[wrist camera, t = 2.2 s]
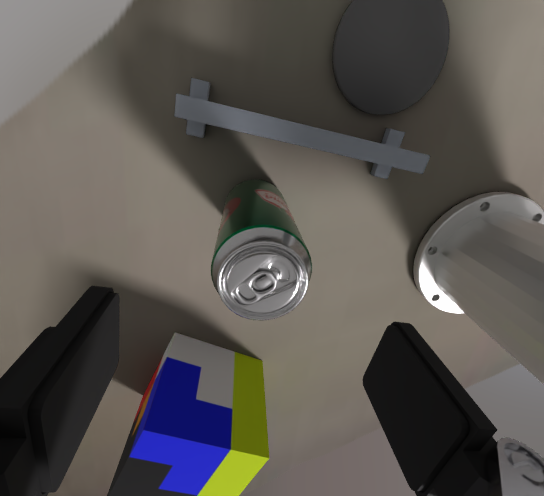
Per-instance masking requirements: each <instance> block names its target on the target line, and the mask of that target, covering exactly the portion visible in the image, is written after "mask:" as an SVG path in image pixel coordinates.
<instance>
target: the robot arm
mask: <svg viewBox="0 0 544 496" xmlns="http://www.w3.org/2000/svg"><path fill="white" fill-rule="evenodd" d="M413 273H414V281H415V284H416V286H417V289H418V290H419V292H420V293H421V295H422V296H423V297H424V298H425V299H426V300H427V301H428V302H429V303H430V304H431V305H433V306H434V307H436V308H437V309H440V310H443V311H445V312H450V313H465V314H466V315H467V316H468V317H469V318H470V319H471V320H473V321H474V322H475V323H476V324H477V325H478V326H479V327H480V328H481V329H483V330H484V331H485V332H486V333H487V334H488V335H489V336H490V337H491V338H492V339H494V340H495V341H496V342H497V343H498V344H499V345H500V346H501V347H502V348H504V349H505V350H506V351H507V352H508V353H509V354H510V355H511V356H512V357H513V358H515V359H516V360H517V361H518V362H519V363H520V364H521V365H522V366H523V367H525V368H526V369H527V370H528V371H529V372H530V373H531V374H532V375H533V376H534V377H536V378H537V379H538V380H539V381H540V382H541V383H542V384H543V385H544V211H543V209H542V208H541V207H540V205H538V204H537V203H536V202H534V201H533V200H531V199H529V198H526V197H524V196H521V195H518V194H513V193H509V192H491V193H485V194H480V195H477V196H475V197H472V198H469V199H467V200H465V201H463V202H461V203H459V204H458V205H456V206H454V207H453V208H451V209H450V210H449V211H447V212H446V213H445V214H443V215H442V216H441V217H440V218H439V219H438V220H437V221H436V222H435V223H434V224H433V225H432V226H431V228H430V229H429V231H428V232H427V233H426V235H425V236H424V238H423V240H422V241H421V243H420V245H419V247H418V250H417V253H416V256H415V259H414V267H413ZM118 361H119V294H118V293H114V291H113V289H112V288H107V287H99V286H91V287H90V288H89V289H88V290H87V291H86V292H85V293H84V294H83V296H82V297H81V298H80V299H79V300H78V301H77V303H76V304H75V305H74V306H73V307H72V308H71V310H70V311H69V312H68V313H67V314H66V315H65V317H64V318H63V319H62V320H61V321H60V322H59V324H58V325H57V326H56V327H48V328H46V329H45V330H44V331H43V332H42V333H41V334H40V335H39V336H38V337H37V338H36V339H35V340H34V342H33V343H32V344H31V345H30V346H29V347H28V348H27V349H26V350H25V352H24V353H23V354H22V355H21V356H20V357H19V358H18V359H17V360H16V362H15V363H14V364H13V365H12V366H11V367H10V368H9V369H8V370H7V372H6V373H5V374H4V375H3V376H2V377H1V378H0V496H47V495H48V493H49V492H56V491H57V489H58V488H59V486H60V484H61V482H62V480H63V478H64V476H65V474H66V472H67V470H68V468H69V466H70V464H71V462H72V460H73V457H74V455H75V453H76V451H77V449H78V447H79V445H80V443H81V441H82V439H83V437H84V435H85V433H86V430H87V428H88V426H89V424H90V422H91V420H92V418H93V416H94V414H95V412H96V410H97V408H98V405H99V403H100V401H101V399H102V397H103V395H104V393H105V391H106V389H107V387H108V385H109V383H110V381H111V378H112V376H113V374H114V372H115V370H116V368H117V365H118ZM363 386H364V388H365V390H366V393H367V395H368V397H369V399H370V401H371V404H372V406H373V408H374V410H375V412H376V415H377V417H378V419H379V421H380V423H381V426H382V428H383V430H384V432H385V434H386V437H387V439H388V441H389V443H390V445H391V448H392V449H393V452H394V454H395V456H396V458H397V460H398V463H399V465H400V467H401V469H402V472H403V474H404V476H405V478H406V481H407V483H408V485H409V486H410V488H411V489H412V490H413V491H415V493H416V495H417V496H544V458H542V457H541V456H540V455H539V454H538V453H537V452H535V451H534V450H533V449H531V448H530V447H528V446H527V445H525V444H524V443H522V442H519V441H517V440H515V439H511V438H508V437H505V438H501V439H499V440H498V441H497V442H496V441H495V440H494V439H493V437H492V436H493V435H494V433H495V432H496V431H497V429H496V428H495V426H494V425H493V424H492V423H491V421H490V420H489V419H488V418H487V417H486V415H485V414H484V413H483V411H482V410H481V409H480V408H479V407H478V405H477V404H476V403H475V402H474V401H473V399H472V398H471V397H470V396H469V394H468V393H467V392H466V391H465V389H464V388H463V387H462V386H461V384H460V383H459V382H458V381H457V380H456V378H455V377H454V376H453V375H452V373H451V372H450V371H449V370H448V369H447V367H446V366H445V365H444V364H443V362H442V361H441V360H440V359H439V357H438V356H437V355H436V354H435V353H434V351H433V350H432V349H431V348H430V346H429V345H428V344H427V343H426V342H425V340H424V339H423V338H422V337H421V335H420V334H419V333H418V332H417V330H416V329H415V328H414V327H413V326H412V325H411V324H409V323H401V322H393V323H392V324H391V325H389V326H388V327H387V328H386V330H385V332H384V334H383V336H382V339H381V341H380V343H379V345H378V347H377V349H376V351H375V353H374V355H373V357H372V359H371V361H370V364H369V366H368V368H367V370H366V372H365V374H364V376H363Z"/></svg>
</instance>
